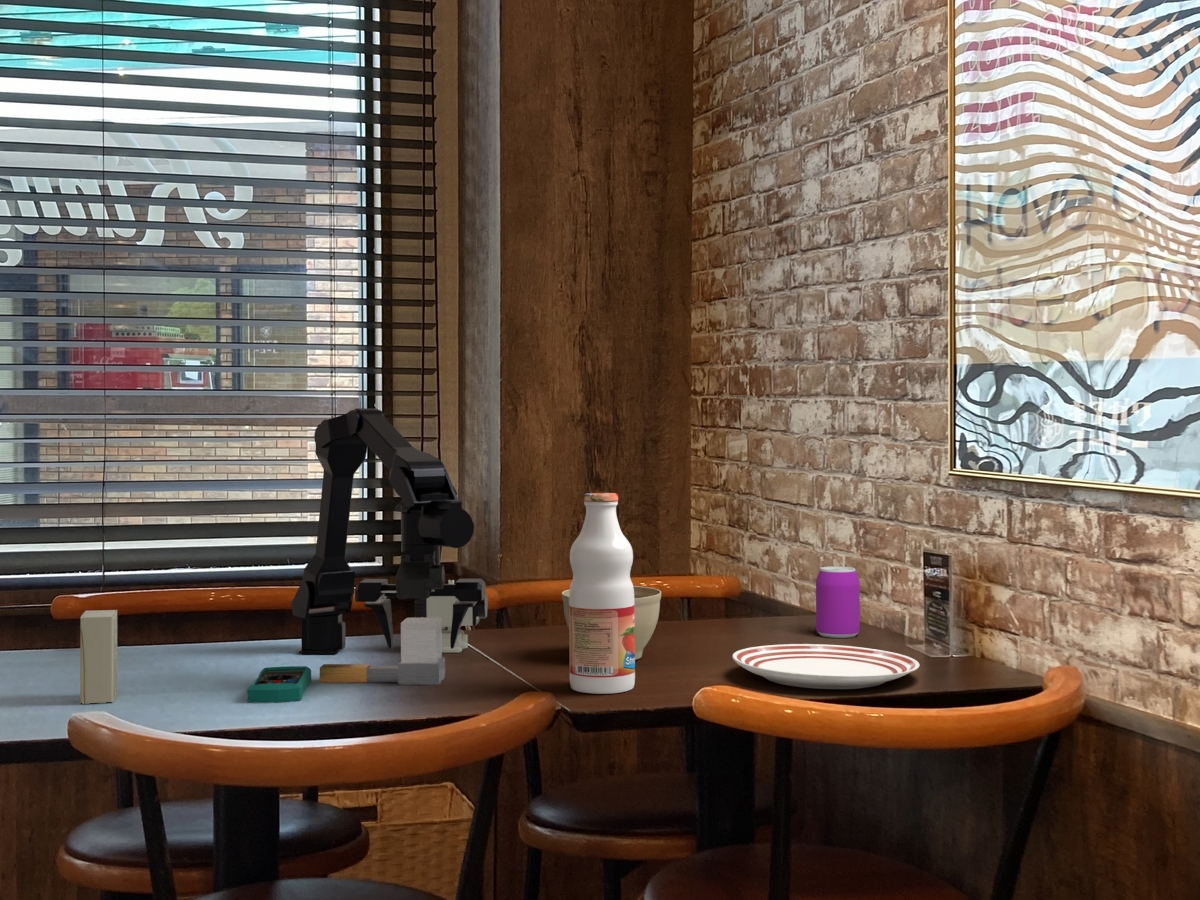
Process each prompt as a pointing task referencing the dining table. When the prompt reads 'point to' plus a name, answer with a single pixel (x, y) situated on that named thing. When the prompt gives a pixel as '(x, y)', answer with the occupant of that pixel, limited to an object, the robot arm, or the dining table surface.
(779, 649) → the dinner plate
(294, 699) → the digital multimeter
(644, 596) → the planter bowl
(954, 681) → the dining table surface
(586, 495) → the fruit juice
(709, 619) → the dining table surface
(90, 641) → the skincare box
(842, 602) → the beverage can
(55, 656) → the dining table surface
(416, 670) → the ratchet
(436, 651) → the plain white cube
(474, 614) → the pneumatic valve
